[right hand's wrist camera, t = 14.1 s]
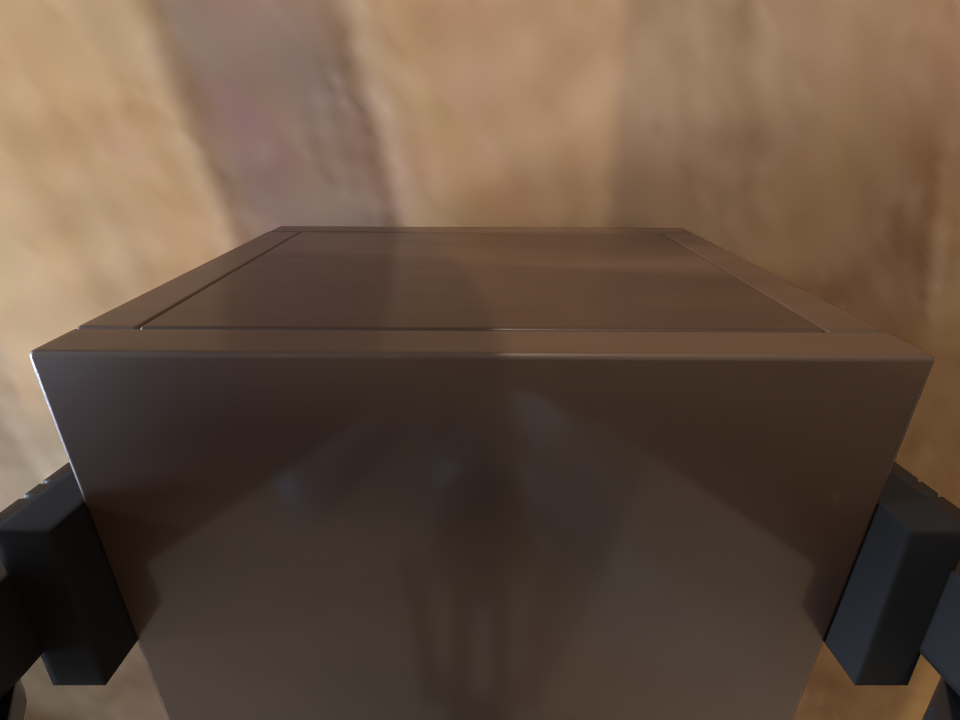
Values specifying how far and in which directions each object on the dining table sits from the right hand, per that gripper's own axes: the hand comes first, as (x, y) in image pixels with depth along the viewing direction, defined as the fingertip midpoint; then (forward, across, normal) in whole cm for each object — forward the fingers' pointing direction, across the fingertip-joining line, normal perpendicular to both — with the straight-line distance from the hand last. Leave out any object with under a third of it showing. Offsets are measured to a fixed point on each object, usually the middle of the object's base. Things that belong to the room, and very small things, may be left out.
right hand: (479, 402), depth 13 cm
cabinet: (+3, 0, -5) cm, 6 cm away
